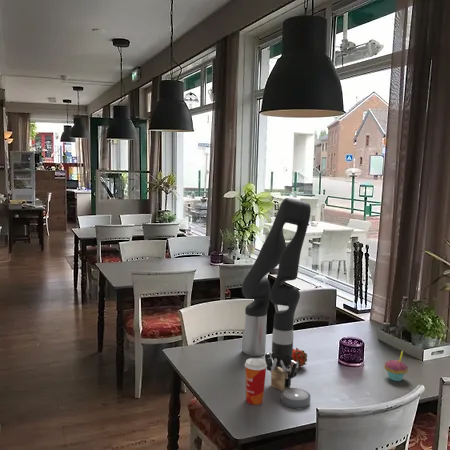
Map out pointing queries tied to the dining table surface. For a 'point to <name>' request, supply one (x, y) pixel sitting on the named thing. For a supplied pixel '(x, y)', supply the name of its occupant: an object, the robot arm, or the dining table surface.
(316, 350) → the dining table surface
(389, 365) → the cupcake
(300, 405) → the pedestal
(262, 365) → the paper cup
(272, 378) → the oak block
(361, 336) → the dining table surface
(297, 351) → the dragon fruit
